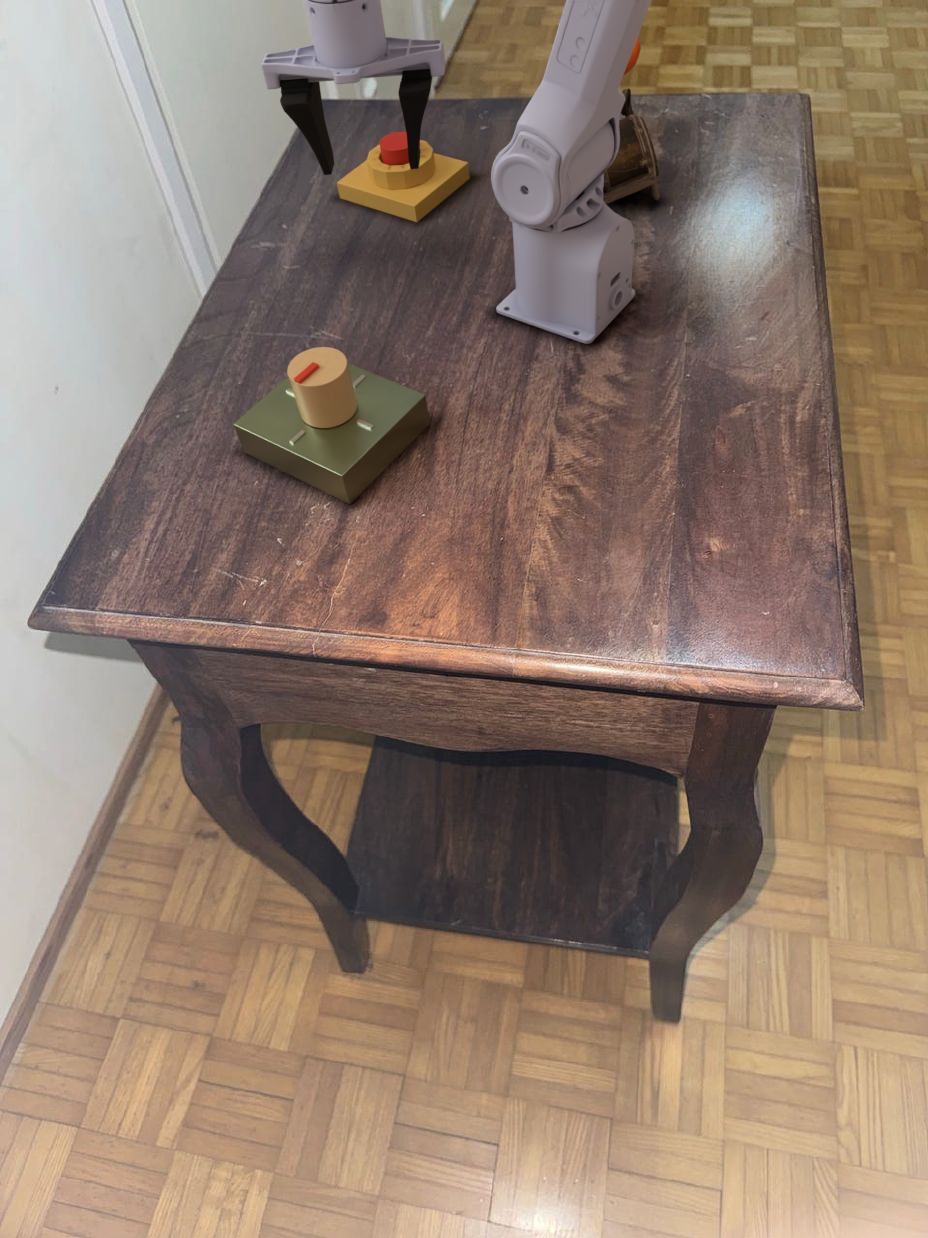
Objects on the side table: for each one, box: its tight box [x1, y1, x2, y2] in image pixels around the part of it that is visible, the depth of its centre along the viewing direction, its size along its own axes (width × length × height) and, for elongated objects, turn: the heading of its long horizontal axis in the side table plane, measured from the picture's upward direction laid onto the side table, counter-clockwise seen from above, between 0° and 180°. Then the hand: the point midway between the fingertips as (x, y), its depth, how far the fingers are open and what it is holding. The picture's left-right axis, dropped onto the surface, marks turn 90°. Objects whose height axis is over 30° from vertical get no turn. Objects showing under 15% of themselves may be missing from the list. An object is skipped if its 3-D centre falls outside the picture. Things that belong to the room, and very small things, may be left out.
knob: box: [286, 346, 357, 428], centre depth 67 cm, size 4×4×4 cm
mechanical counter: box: [603, 113, 661, 205], centre depth 85 cm, size 7×13×10 cm
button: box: [379, 131, 409, 166], centre depth 89 cm, size 4×4×2 cm
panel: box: [233, 362, 431, 505], centre depth 70 cm, size 11×10×3 cm
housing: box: [336, 139, 471, 223], centre depth 91 cm, size 10×9×4 cm
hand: (372, 166), depth 79 cm, fingers open, 7 cm apart
